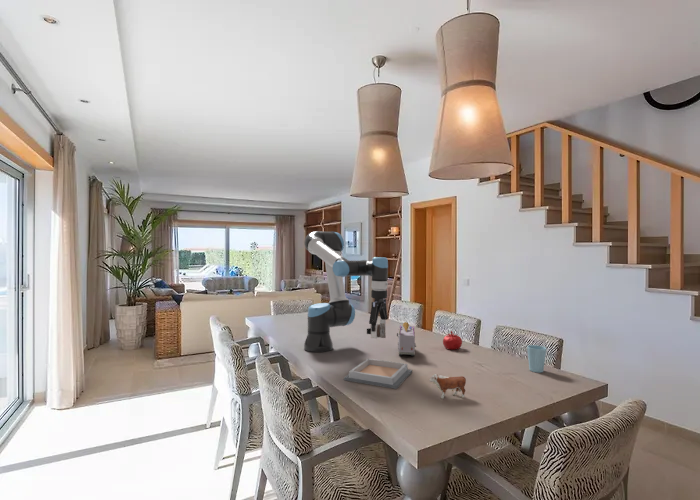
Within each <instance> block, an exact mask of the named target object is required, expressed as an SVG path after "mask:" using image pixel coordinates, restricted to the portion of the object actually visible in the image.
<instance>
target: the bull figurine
mask: <svg viewBox="0 0 700 500" xmlns="http://www.w3.org/2000/svg"><path fill="white" fill-rule="evenodd" d="M428 380H429V383H433V384H434V385H436V388H437V389H438V390H439V391H441V392H442V394H441V396H440V399H441V400H444V398H445V396H446V392H447V390H451V392H454V393H453V394H452V396H456V395H458V392H461V396H460V398H461V399H464V398H465V394H466V388H465V387H466V377H465V376H462V375H460V376H444V375H440V374H439V375H438V374H437V373H433V375H431V376H430V378H429V379H428ZM454 390H455V391H454Z"/></svg>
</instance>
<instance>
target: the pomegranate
mask: <svg viewBox="0 0 700 500" xmlns="http://www.w3.org/2000/svg"><path fill="white" fill-rule="evenodd" d="M442 343H443V347H444V348H445V349H446V350H459V349H461V347H462V345H463V339H462V338H461V337H460V336H459V334H457V333H453V331H452V330H451V331H450V333H447V334H445V336H444V337H443V339H442Z"/></svg>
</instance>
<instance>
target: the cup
mask: <svg viewBox="0 0 700 500" xmlns="http://www.w3.org/2000/svg"><path fill="white" fill-rule="evenodd" d="M526 348H527V359H528V369H529V371H531V372H532V373H540V374H541V373H544V369H545V361H546V354H547V348H546V347H545V346H543V345H535V344H530V345H529V344H528V345H526Z"/></svg>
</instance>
